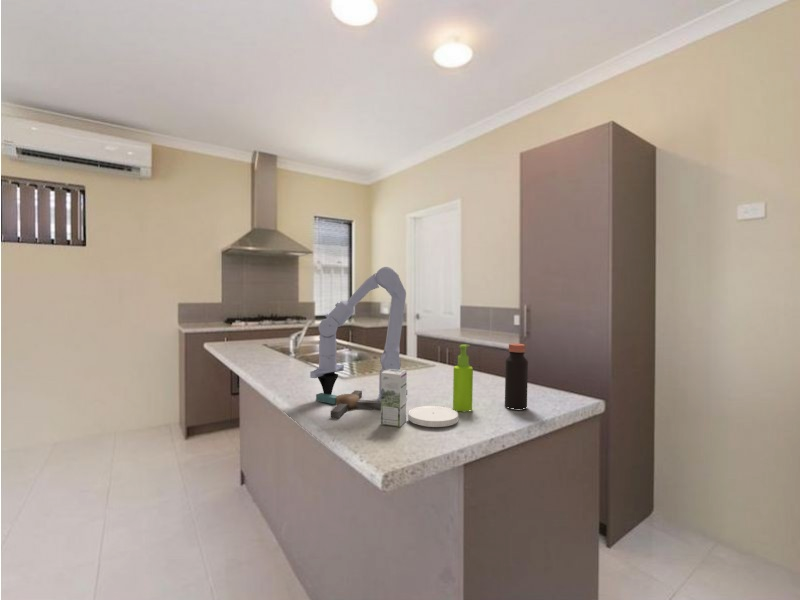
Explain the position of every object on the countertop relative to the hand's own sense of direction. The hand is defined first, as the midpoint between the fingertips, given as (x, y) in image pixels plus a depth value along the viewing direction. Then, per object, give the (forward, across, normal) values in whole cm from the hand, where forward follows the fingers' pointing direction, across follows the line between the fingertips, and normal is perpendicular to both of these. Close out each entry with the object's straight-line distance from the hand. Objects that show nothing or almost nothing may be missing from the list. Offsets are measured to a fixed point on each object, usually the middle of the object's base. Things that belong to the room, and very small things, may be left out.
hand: (327, 395), depth 130 cm
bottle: (+2, -25, +55) cm, 61 cm away
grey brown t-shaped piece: (+1, +1, +14) cm, 14 cm away
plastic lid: (+2, 0, +38) cm, 39 cm away
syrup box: (+2, +8, +30) cm, 31 cm away
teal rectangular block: (+1, +2, +2) cm, 3 cm away
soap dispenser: (+2, -15, +42) cm, 44 cm away
